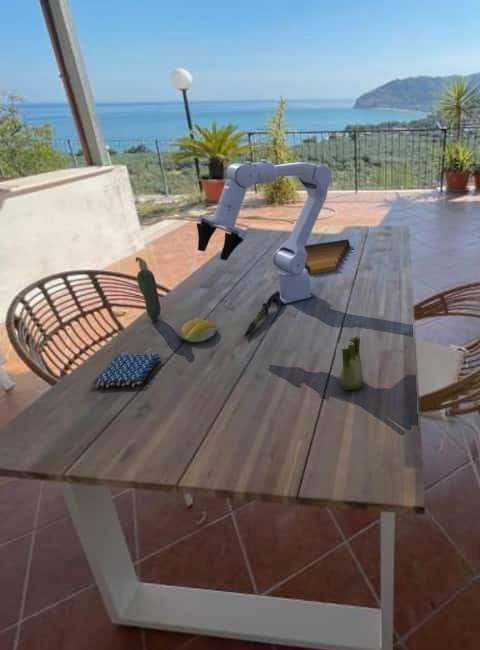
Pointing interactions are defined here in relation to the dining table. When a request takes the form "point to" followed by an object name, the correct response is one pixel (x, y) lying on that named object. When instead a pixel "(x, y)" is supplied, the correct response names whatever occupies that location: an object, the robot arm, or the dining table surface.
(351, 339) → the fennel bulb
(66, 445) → the dining table surface
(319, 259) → the pan flute
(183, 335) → the bread roll
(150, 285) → the vegetable
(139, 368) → the woven mat
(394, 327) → the dining table surface
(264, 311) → the knife
